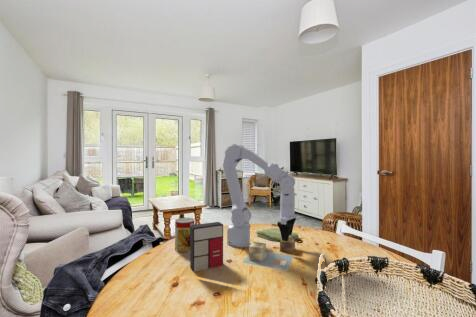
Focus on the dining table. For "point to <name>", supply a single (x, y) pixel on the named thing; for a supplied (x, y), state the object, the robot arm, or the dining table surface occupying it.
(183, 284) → the dining table surface
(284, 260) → the board
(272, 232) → the washcloth
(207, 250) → the grey toy cabinet
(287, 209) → the robot arm
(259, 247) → the birch block
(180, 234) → the canned food
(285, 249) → the walnut block
